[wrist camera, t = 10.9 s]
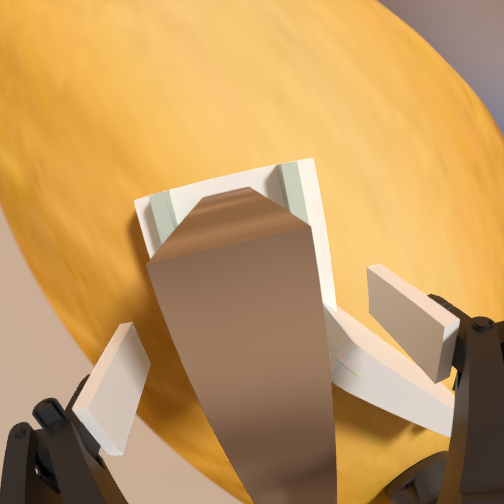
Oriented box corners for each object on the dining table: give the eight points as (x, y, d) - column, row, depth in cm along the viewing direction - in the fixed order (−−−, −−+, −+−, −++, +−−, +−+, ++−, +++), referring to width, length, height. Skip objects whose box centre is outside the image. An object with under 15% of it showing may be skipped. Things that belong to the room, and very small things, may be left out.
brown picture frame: (286, 344, 22) (342, 506, 8) (241, 355, 22) (261, 524, 8) (252, 185, 19) (324, 223, 5) (198, 198, 19) (133, 268, 5)
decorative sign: (279, 315, 25) (309, 391, 15) (307, 281, 25) (355, 343, 15) (438, 413, 32) (472, 454, 23) (456, 394, 32) (492, 433, 22)
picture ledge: (328, 322, 25) (346, 350, 21) (195, 354, 25) (191, 386, 21) (301, 159, 21) (320, 157, 17) (145, 196, 21) (126, 202, 17)
